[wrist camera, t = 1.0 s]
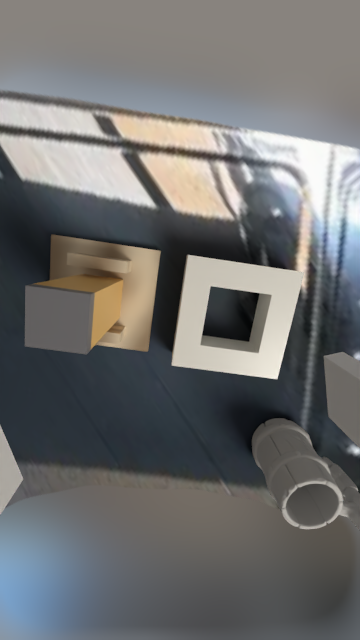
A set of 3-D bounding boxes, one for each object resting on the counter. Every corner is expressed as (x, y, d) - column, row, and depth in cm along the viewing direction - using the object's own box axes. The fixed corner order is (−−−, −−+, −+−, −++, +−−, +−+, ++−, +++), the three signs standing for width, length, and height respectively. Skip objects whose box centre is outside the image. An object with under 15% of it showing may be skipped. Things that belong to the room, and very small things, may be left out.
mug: (262, 408, 36) (304, 483, 24) (341, 433, 37) (418, 516, 25) (240, 454, 37) (269, 546, 26) (316, 477, 38) (378, 575, 27)
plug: (81, 312, 31) (24, 346, 20) (83, 273, 30) (25, 285, 19) (119, 317, 32) (86, 354, 20) (123, 279, 30) (90, 294, 19)
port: (172, 352, 33) (171, 365, 30) (186, 254, 31) (188, 254, 27) (265, 365, 34) (277, 379, 30) (288, 270, 31) (304, 272, 27)
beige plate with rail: (50, 336, 33) (34, 346, 29) (54, 234, 30) (37, 231, 26) (148, 349, 33) (144, 361, 30) (160, 250, 31) (158, 250, 27)
